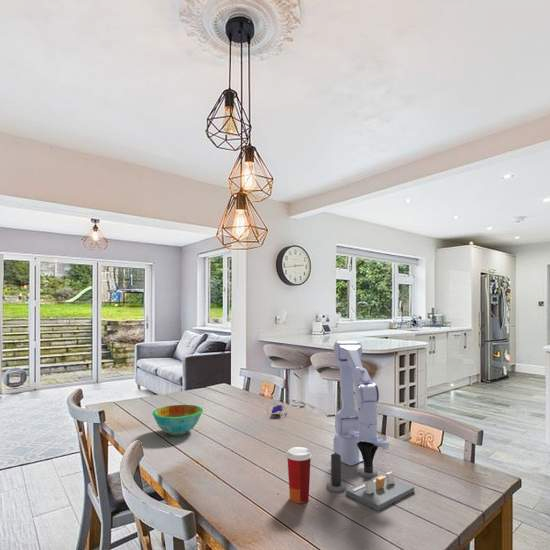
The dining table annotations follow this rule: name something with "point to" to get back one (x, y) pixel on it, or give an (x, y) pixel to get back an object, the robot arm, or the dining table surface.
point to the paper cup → (299, 473)
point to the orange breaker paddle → (380, 482)
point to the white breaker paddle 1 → (369, 487)
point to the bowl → (177, 418)
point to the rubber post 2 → (368, 472)
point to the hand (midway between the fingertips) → (368, 465)
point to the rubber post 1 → (336, 475)
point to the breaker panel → (380, 493)
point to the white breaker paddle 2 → (389, 477)
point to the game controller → (277, 409)
